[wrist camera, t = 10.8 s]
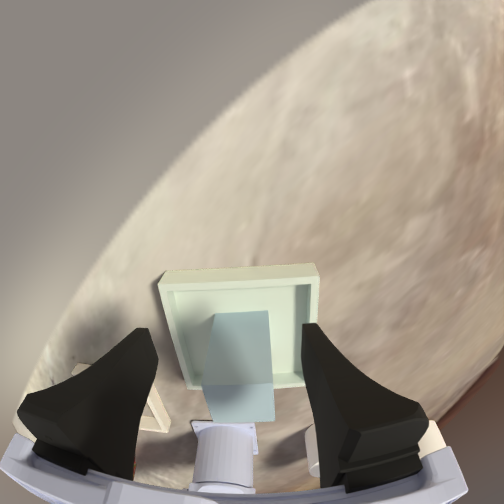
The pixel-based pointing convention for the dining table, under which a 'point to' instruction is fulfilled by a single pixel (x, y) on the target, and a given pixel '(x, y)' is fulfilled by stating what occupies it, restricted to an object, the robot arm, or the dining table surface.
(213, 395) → the block
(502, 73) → the dining table surface
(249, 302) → the tray
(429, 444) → the beverage can
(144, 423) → the holder
